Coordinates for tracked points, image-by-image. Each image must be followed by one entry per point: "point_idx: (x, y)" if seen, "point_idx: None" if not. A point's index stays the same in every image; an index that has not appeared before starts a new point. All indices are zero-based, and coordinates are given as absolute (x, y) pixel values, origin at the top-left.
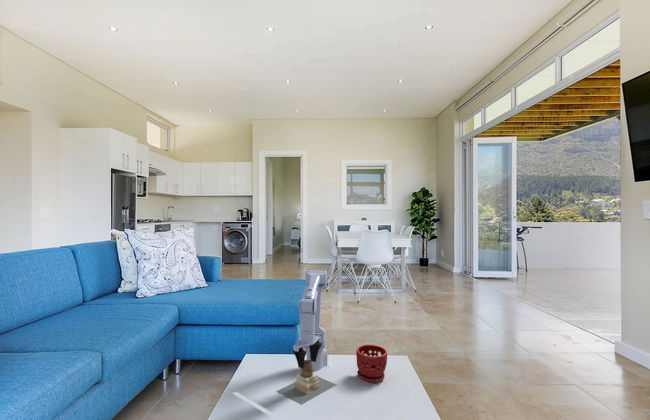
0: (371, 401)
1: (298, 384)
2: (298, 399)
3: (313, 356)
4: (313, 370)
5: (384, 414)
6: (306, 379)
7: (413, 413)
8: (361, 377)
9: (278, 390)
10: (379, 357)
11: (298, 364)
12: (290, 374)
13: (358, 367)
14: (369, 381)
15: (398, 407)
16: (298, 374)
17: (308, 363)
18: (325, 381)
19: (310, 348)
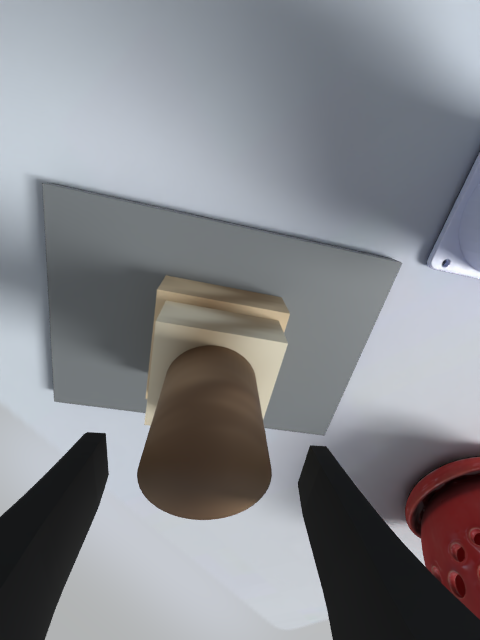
0: (272, 542)
1: (154, 325)
2: (79, 366)
3: (319, 525)
4: (464, 242)
5: (219, 581)
6: (147, 417)
7: (265, 614)
8: (420, 495)
9: (67, 192)
10: None
11: (65, 462)
12: (376, 75)
13: (464, 524)
14: (405, 510)
15: (276, 590)
16: (179, 327)
17: (187, 500)
18: (334, 380)
19: (386, 619)
